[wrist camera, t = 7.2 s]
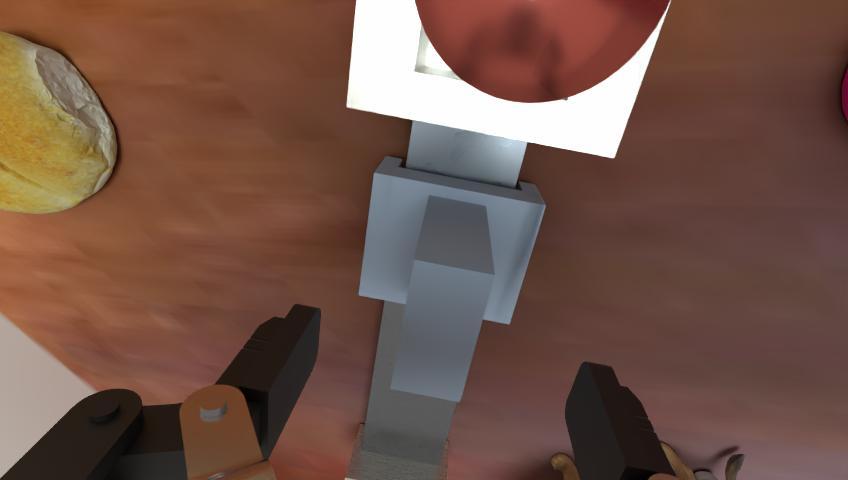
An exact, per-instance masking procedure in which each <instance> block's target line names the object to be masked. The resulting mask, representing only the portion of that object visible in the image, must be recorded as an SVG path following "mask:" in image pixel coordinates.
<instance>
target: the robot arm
mask: <svg viewBox="0 0 848 480" xmlns="http://www.w3.org/2000/svg"><path fill="white" fill-rule="evenodd" d="M320 318H321V310H320V308H315V307H310V306H305V305H300V304H295V305H294V306H293V307H292V309H291V310H290V312H289V313H288V314H287V316H286V317H285V319H284V318H279V317H273V318H271V319H269V320H268V321H266V322H265V323H263V324H261V325H260V326H259V327H258V328H257V330H256V331H255V332H254V334H253V335H252V336H251V339H249V340H248V341H247V343H246V344H245V345H244V347H243V349H241V351H240V352H239V353H238V355H237V356H236V357H235V358H234V360H233V361H232V362H231V364H230V365H229V366H228V368H227V369H226V370H225V372H224V373H223V374H222V376H221V377H220V378H219V379H218V381H217V382H216V383H215V385H212V386H207V387H204V388H202V389H199V390H197V391H195V392H194V393H192V394H191V395H190V396H188V397H187V398H186V399H185V401H184V402H183V403H178V404H168V405H151V406H142V400H141V398H140V396H139V395H138V394H137V393H135V392H133V391H131V390H127V389H110V390H105V391H101V392H98V393H95V394H92V395H90V396H88V397H86V398H84V399H83V400H81V401H80V402H78V403H77V404H76V405H75V406H74V407H72V408H71V409H70V410H69V411H68V412H67V413H66V414H65V415H64V416H63V417H62V418H61V419H60V420H59V421H58V422H57V423H56V424H55V425H54V426H53V427H52V428H51V429H50V430H49V431H48V432H47V433H46V434H45V435H44V436H43V437H42V438H41V439H40V440H39V441H38V442H37V443H36V444H35V445H34V446H33V447H32V448H31V449H30V450H29V451H28V452H27V453H26V454H25V455H24V456H23V457H22V458H21V459H20V460H19V461H18V462H17V463H16V464H15V465H14V466H13V467H12V468H10V469H9V471H8V472H7V473H5V474H4V475H3V476H2V477H1V478H0V480H276V478H275V475H274V472H273V469H272V466H271V463H270V461H269V460H268V459H269V457H270V455H271V452H272V450H273V448H274V446H275V444H276V442H277V440H278V438H279V436H280V434H281V432H282V430H283V428H284V426H285V424H286V422H287V420H288V418H289V416H290V414H291V412H292V410H293V408H294V406H295V404H296V402H297V400H298V398H299V396H300V394H301V392H302V390H303V388H304V386H305V384H306V382H307V380H308V378H309V376H310V374H311V372H312V370H313V367H314V364H315V361H316V358H317V353H318V344H319V331H320ZM565 419H566V424H567V428H568V432H569V436H570V440H571V444H572V448H573V452H574V456H575V460H576V464H577V468H578V472H579V476H580V480H681V479H679V478H677V477H676V475H675V473H674V471H673V469H672V466H671V464H670V462H669V460H668V458H667V456H666V454H665V452H664V450H663V448H662V445H661V443H660V441H659V439H658V437H657V435H656V433H654V429H653V427H652V424H651V422H650V420H648V416H647V414H646V412H645V410H644V408H643V406H642V403H641V402H640V401H639V399H638V398H637V397H636V396H635V395H634V394H633V393H632V392H631V391H630V390H629V389H628V387H623V386H620V384H619V382H618V379H617V377H616V375H615V373H614V370H613V369H612V367H610V366H606V365H601V364H596V363H591V362H586V361H585V362H583V363H582V364H581V366H580V369H579V371H578V374H577V376H576V379H575V381H574V384H573V386H572V389H571V391H570V394H569V396H568V399H567V402H566V408H565Z"/></svg>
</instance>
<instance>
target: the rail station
mask: <svg viewBox="0 0 848 480" xmlns="http://www.w3.org/2000/svg"><path fill="white" fill-rule="evenodd" d="M670 2H671V0H670ZM670 2H669V5H670ZM669 5H668V7H669ZM668 7H667V9H666V11H665V13H664V15H663V16H662V18H661V20H660V22H659V24H658V25H657V27H656V28H655V30H654V31H653V33H652V34H651V36H650V37H649V38H648V40H647V41H646V43H645V44H644V45H643V46H642V47H641V48H640V50H639V51H638V52H637V53H636V54H635V55H634V56H633V58H631V59H630V60H629V61H628V62H627V63H626V64H625V65H624V66H623V67H622V68H621V69H619V70H618V71H617V72H616V73H614V74H613V75H611V76H610V77H609V78H607V79H606V80H605V81H603V82H601V83H599V84H598V85H596V86H594V87H592V88H591V89H589V90H587V91H584V92H582V93H579V94H577V95H575V96H572V97H568V98H565V99H561V100H558V101H552V102H545V103H518V102H510V101H506V100H502V99H498V98H495V97H492V96H490V95H487V94H485V93H483V92H480V91H479V90H477V89H475V88H474V87H472V86H470V85H469V84H467V83H466V82H464V81H463V80H462V79H461V78H459V77H458V76H457V75H456V74H455V73H454V72H453V71H452V70H451V69H450V68H449V67H448V66H447V65H446V64H445V63H444V62H443V61H442V59H441V58H440V56H439V55H438V54H437V52H436V51H435V50H434V48H433V46H432V45H431V43H430V41H429V39H428V37H427V35H426V34H425V31H424V29H423V26H422V24H421V21H420V19H419V16H418V12H417V8H416V5H415V1H414V0H356V11H355V22H354V32H353V43H352V54H351V65H350V75H349V86H348V97H347V107H348V108H354V109H359V110H364V111H369V112H375V113H380V114H385V115H390V116H396V117H401V118H406V119H411V120H413V123H412V130H411V136H410V142H409V149H408V155H407V161H406V169H411V170H416V171H421V172H427V173H432V174H437V175H442V176H448V177H453V178H458V179H463V180H469V181H474V182H479V183H484V184H489V185H495V186H500V187H505V188H510V189H515V186H516V183H517V179H518V175H519V172H520V168H521V164H522V160H523V157H524V153H525V149H526V146H527V142H532V143H537V144H543V145H548V146H553V147H558V148H564V149H569V150H574V151H579V152H585V153H590V154H595V155H600V156H606V157H611V158H614V157H615V154H616V152H617V149H618V146H619V143H620V140H621V138H622V135H623V132H624V129H625V127H626V124H627V121H628V118H629V116H630V113H631V110H632V107H633V104H634V102H635V99H636V96H637V93H638V91H639V88H640V85H641V82H642V79H643V77H644V74H645V71H646V68H647V66H648V63H649V60H650V57H651V55H652V52H653V49H654V46H655V43H656V41H657V38H658V35H659V32H660V30H661V27H662V24H663V21H664V18H665V16H666V13H667V10H668ZM405 306H406V304H401V303H396V302H391V301H386V300H385V301H384V308H383V314H382V320H381V327H380V333H379V339H378V346H377V352H376V359H375V365H374V371H373V378H372V384H371V390H370V397H369V403H368V409H367V416H366V422H365V424H360V426H359V430H358V433H357V437H356V441H355V444H354V448H353V451H352V455H351V459H350V462H349V466H348V470H347V473H346V477H345V480H447V468H448V444H449V441H447V437H448V433H449V430H450V426H451V422H452V418H453V415H454V411H455V407H456V404H457V402H455V401H450V400H445V399H440V398H435V397H430V396H425V395H420V394H414V393H409V392H404V391H399V390H394V389H390V388H391V383H392V377H393V372H394V366H395V361H396V355H397V350H398V344H399V339H400V333H401V328H402V322H403V317H404V311H405Z"/></svg>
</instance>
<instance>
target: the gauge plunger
mask: <svg viewBox="0 0 848 480" xmlns="http://www.w3.org/2000/svg"><path fill="white" fill-rule="evenodd" d="M414 1H415V5H416V8H417V12H418V16H419V19H420V21H421V24H422V26H423V29H424V31H425V34H426V35H427V37H428V39H429V41H430V43H431V45H432V46H433V48H434V50H435V51H436V52H437V54H438V55H439V56H440V58H441V59H442V61H443V62H444V63H445V64H446V65H447V66H448V67H449V68H450V69H451V70H452V71H453V72H454V73H455V74H456V75H457V76H458V77H459V78H461V79H462V80H463V81H464V82H466V83H467V84H469V85H470V86H472V87H474V88H475V89H477V90H479V91H480V92H483V93H485V94H487V95H490V96H492V97H495V98H498V99H502V100H506V101H510V102H518V103H545V102H552V101H558V100H561V99H565V98H568V97H572V96H575V95H577V94H579V93H582V92H584V91H587V90H589V89H591V88H592V87H594V86H596V85H598V84H599V83H601V82H603V81H605V80H606V79H607V78H609V77H610V76H611V75H613V74H614V73H616V72H617V71H618V70H619V69H621V68H622V67H623V66H624V65H625V64H626V63H627V62H628V61H629V60H630V59H631V58H633V56H634V55H635V54H636V53H637V52H638V51H639V50H640V48H641V47H642V46H643V45H644V44H645V43H646V41H647V40H648V38H649V37H650V36H651V34H652V33H653V31H654V30H655V28H656V27H657V25H658V24H659V22H660V20H661V18H662V16H663V15H664V13H665V11H666V9H667V7H668V5H669V2H670V0H414Z"/></svg>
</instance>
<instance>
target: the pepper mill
mask: <svg viewBox="0 0 848 480" xmlns="http://www.w3.org/2000/svg"><path fill="white" fill-rule="evenodd" d="M842 108H843V111H844V113H845V116H846V119H847V121H848V67H847V71H846V74H845V77H844V81H843V84H842Z"/></svg>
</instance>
